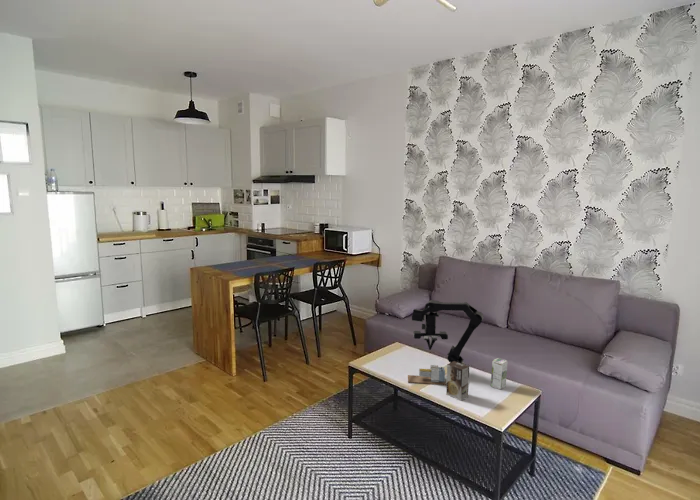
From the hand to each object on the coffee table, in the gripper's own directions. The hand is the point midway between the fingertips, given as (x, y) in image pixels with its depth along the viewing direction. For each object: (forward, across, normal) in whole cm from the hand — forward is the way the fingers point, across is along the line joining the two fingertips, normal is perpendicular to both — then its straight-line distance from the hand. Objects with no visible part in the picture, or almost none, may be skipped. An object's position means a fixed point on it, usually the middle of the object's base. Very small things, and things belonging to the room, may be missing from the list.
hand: (429, 349), depth 238 cm
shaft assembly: (+12, 0, +14) cm, 18 cm away
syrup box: (+13, -34, +17) cm, 40 cm away
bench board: (+12, +3, +13) cm, 19 cm away
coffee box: (+13, -10, +29) cm, 33 cm away
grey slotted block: (+12, -1, +14) cm, 18 cm away
